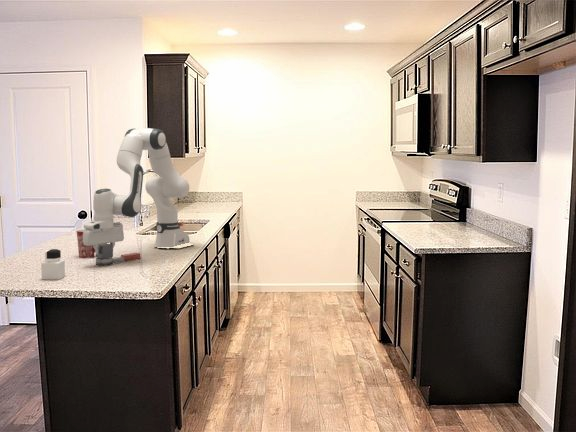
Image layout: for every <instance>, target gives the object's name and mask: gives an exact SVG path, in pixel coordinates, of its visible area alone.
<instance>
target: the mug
mask: <svg viewBox="0 0 576 432" xmlns="http://www.w3.org/2000/svg"><path fill="white" fill-rule="evenodd" d="M84 230H85V228H82V229H80V228H79V229H76V231H75V232H76V237H77V249H78V250H77V251H78V257H79V258H83V259H85V258H86V259H87V258H93V257H94V256H95V254H96V253H95V249H94V248H93V245H91V246H86V245H84V244H83V232H84Z"/></svg>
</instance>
